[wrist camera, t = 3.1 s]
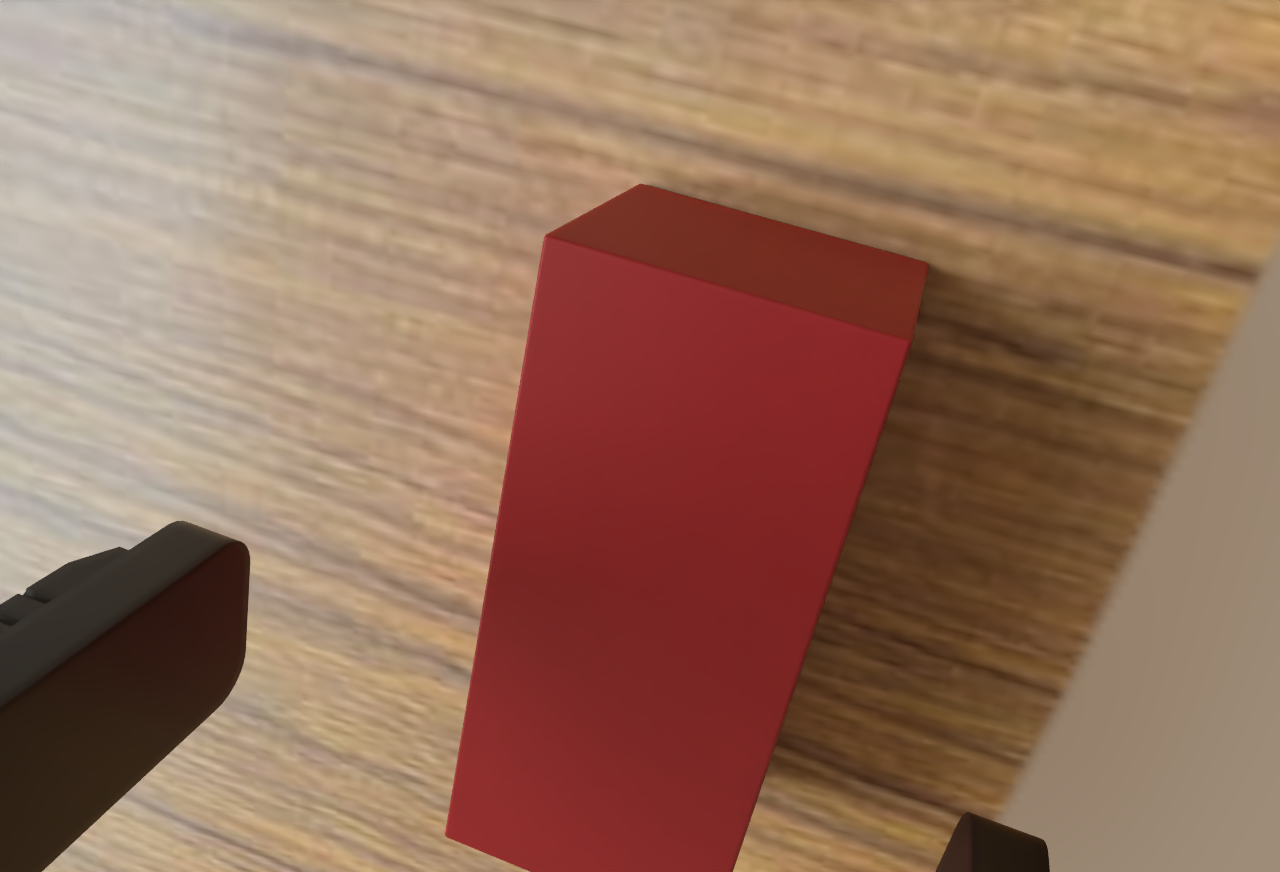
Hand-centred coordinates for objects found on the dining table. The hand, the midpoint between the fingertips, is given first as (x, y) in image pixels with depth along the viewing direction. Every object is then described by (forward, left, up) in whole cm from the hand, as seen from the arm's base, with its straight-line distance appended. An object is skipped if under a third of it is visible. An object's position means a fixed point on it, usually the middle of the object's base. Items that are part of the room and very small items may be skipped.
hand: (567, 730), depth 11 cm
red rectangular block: (0, 0, -5) cm, 5 cm away
